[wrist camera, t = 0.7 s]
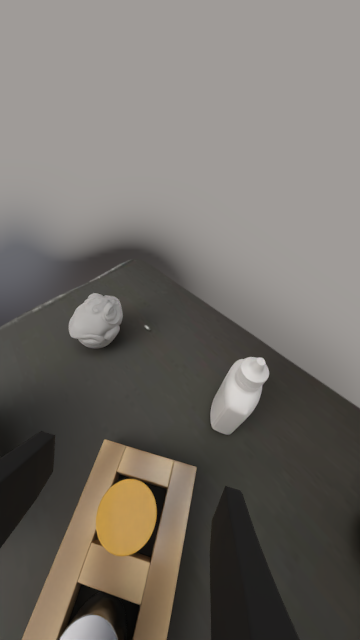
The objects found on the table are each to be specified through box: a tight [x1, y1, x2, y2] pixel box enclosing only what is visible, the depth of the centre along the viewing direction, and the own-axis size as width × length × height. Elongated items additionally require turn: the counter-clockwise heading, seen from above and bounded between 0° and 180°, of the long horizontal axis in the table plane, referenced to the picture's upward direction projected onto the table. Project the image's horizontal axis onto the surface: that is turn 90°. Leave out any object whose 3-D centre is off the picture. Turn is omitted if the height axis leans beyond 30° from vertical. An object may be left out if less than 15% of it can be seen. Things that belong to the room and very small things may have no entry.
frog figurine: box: [69, 293, 123, 349], centre depth 30 cm, size 6×7×7 cm
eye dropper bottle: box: [210, 357, 269, 435], centre depth 24 cm, size 4×6×12 cm
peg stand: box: [22, 439, 197, 640], centre depth 19 cm, size 9×16×2 cm, turn 166°
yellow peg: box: [96, 479, 157, 556], centre depth 19 cm, size 4×4×8 cm
